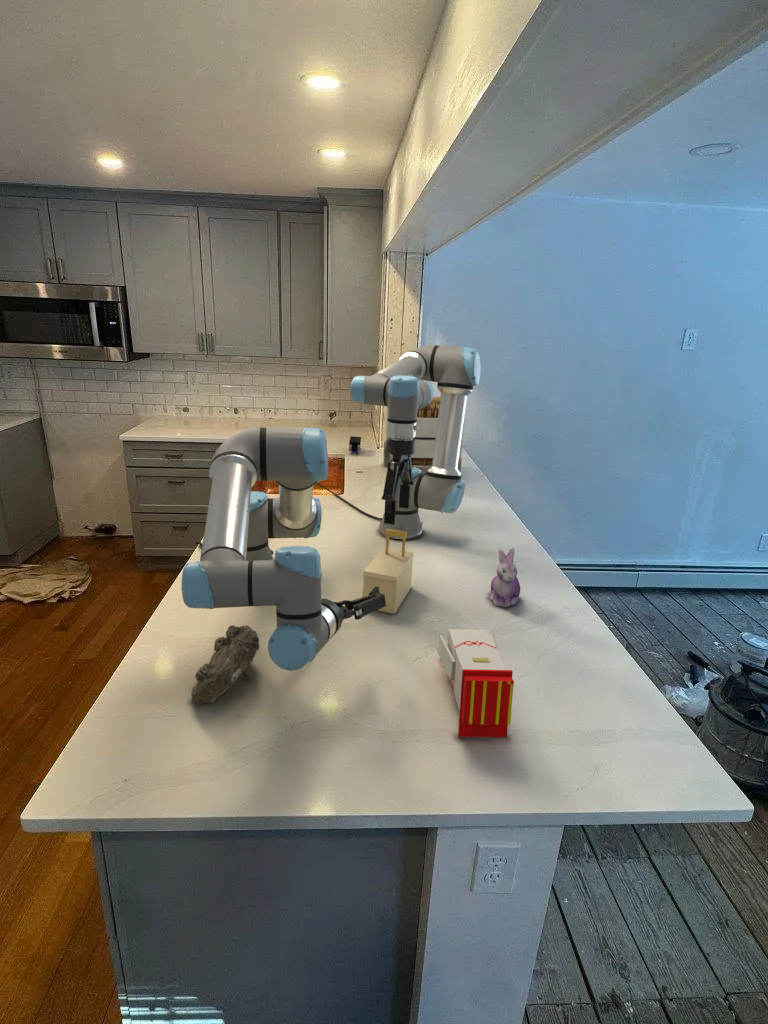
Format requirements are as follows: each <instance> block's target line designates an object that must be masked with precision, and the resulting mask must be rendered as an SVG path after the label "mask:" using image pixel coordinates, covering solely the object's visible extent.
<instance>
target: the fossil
mask: <svg viewBox="0 0 768 1024" xmlns="http://www.w3.org/2000/svg"><path fill="white" fill-rule="evenodd" d="M213 647H214V649H213V650H214V652H213V654H212V656H211V658H210V659H209V661H208V663H205V664H203V665H202V666H201V667H200V668H198V670H197V671H196V673H195V676H194V677H195V679H196V681H197V682H196V683H195V685H194V686H193V687H192V688H191V700H192V702H193V703H197V704H198V705H203V704H207V703H214V702H215V701H216V700H218V698H219V697H221V696H222V695H223V694H224V693H226V692H227V690H228V689H229V688H231V686H233V684H235V683H236V682H237V680H238V678H239V677H240V676H241V675H243V676H244V677H245V678H249V675H248V674H247V673H246V672H245V669H246V668H247V667H248V666H250V665H251V663H253V662H254V658H255V656H256V654H257V652H259V650H260V637H259V636H258V633H257V632H256V630H254V629H252V628H251V626H249V625H247V624H246V625H240V626H236V625H234V624H233V625H229V626H228V627H227V630H226V631H225V636H220V637H219V636H218V637H217V638H216V639H215V641H214V645H213Z"/></svg>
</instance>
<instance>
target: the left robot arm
mask: <svg viewBox="0 0 768 1024" xmlns="http://www.w3.org/2000/svg"><path fill="white" fill-rule="evenodd" d="M327 443H328V441H327V435H326V433H325V431H324V430H323V429H322V428H317V427H310V426H306V427H263V426H262V427H261V426H253V427H247V428H244V429H242V430H239V431H237V432H236V433H234V434H232V435H231V436H229V437H228V438H227V439H226V440H224V441H223V442H222V443H221V444H220V446H219V447H218V448H217V449H216V451H215V452H214V454H213V455H212V458H211V460H210V465H209V469H208V477H209V480H210V482H211V489H210V495H209V502H208V507H207V514H206V520H205V526H204V532H203V539H202V541H200V540H198V541H196V543H195V545H197V546H198V545H199V546H200V547H201V551H200V556H199V560H197V561H192V562H191V561H190V562H187V563H186V564H185V566H184V567H183V569H182V573H181V574H182V575H181V596H182V601H183V603H184V605H185V606H186V607H187V608H189V609H205V610H207V609H208V610H214V609H225V608H245V607H274V606H275V613H276V614H275V616H276V617H275V618H276V621H275V622H276V628H275V629H274V631H273V632H272V633H271V635H270V637H269V639H268V641H267V642H268V643H267V652H268V655H269V658H270V660H271V661H272V662H273V664H275V665H276V667H278V668H280V669H282V670H285V671H288V672H289V671H298V670H300V669H302V668H304V667H305V666H306V665H308V664H309V663H311V662H313V660H314V659H315V658H316V656H317V655H318V653H319V652H320V651H321V650H322V649H323V648H324V647H325V646H326V644H328V642H329V641H330V640H331V639H332V638H333V637H334V636H335V635H336V634H337V633H338V632H339V630H340V629H341V627H342V624H343V622H344V620H347V619H350V618H352V617H354V620H356V621H359V620H361V619H362V618H363V617H365V616H367V615H369V614H372V613H374V612H377V611H378V610H379V609H381V608H383V607H386V601H385V594H381V593H379V586H376V587H374V589H373V590H372V591H371V592H370V593H369V596H366V597H363V596H362V597H359V598H355V599H353V600H349V599H344V600H341V601H333V600H330V599H328V598H322V578H323V577H322V576H323V575H322V567H321V553H320V552H319V550H318V549H316V548H315V547H311V546H306V545H292V546H283V547H280V548H277V549H276V551H275V553H274V550H272V549H271V548H270V546H269V539H309V538H315V537H317V536H318V535H319V534H320V531H321V525H322V516H323V515H322V504H321V501H320V499H319V498H318V497H314V487H315V485H317V484H316V483H318V482H322V481H326V480H328V478H329V455H328V454H329V453H328V444H327ZM259 481H261V482H276V484H277V485H278V497H270V498H268V497H269V496H268V494H267V493H266V492H264V491H257V490H256V491H255V490H254V491H252V488H253V487H254V486H255V484H256V482H259ZM273 556H274V557H273Z"/></svg>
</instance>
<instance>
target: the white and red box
mask: <svg viewBox="0 0 768 1024" xmlns="http://www.w3.org/2000/svg"><path fill="white" fill-rule="evenodd" d="M446 640H447V643H446V641H445V639H444V636H443V635H442V634H439V637H438V646H437V656H438V657H439V659H440V661H441V663H442V666H443V668H444V670H445V672H446V674H447V677H448V679H449V681H450V684H451V687H452V690H453V693H454V697H455V701H456V705H457V708H458V711H459V714H458V715H459V716H458V730H457V731H458V732H457V737H458V738H508V731H509V726H510V725H511V717H512V707H513V697H514V696H513V695H514V684H515V680H514V679H513V673H514V671H513V670H512V669H508V667H507V665H506V662H505V661H504V659H503V658H502V655H501V653H500V651H499V649H498V647H497V643H496V639H495V637H494V635H493V634H491V632H490V631H489V629H467V628H466V629H465V628H463V629H461V628H460V629H459V628H448V630H447V639H446Z"/></svg>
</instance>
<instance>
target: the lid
mask: <svg viewBox="0 0 768 1024" xmlns="http://www.w3.org/2000/svg"><path fill="white" fill-rule="evenodd" d="M385 534H386V537H385V547H383V548H381V550H380V551H379V552H378V553H377V555H375V557H374V558H373V560H371V561H370V563H369V564H368V565H367V566H366V568H365V569H364V570H363V576H369V577H375V578H380V579H386V580H391V581H397V580H398V579H399V577H400V576H401V574H402V573H403V571H404V570H405V568H406V567H407V565H408V564H409V562H410V561H411V560H412V558H413V559H414V555H415V553H414V552H411V551H406V541H407V540H406V536H407V532H404V531H398V530H392V529H386V531H385ZM389 535H393V536H399V537H403V540H401V541H402V543H401V550H399V549H395V548H389V547H390V546H389V545H390V538H389Z"/></svg>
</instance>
